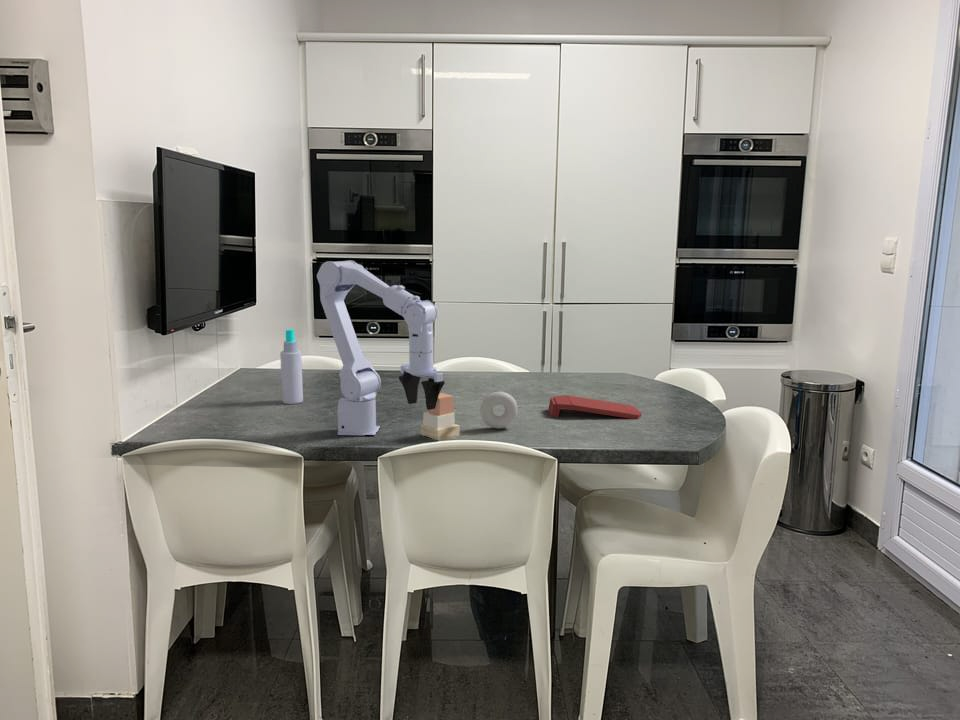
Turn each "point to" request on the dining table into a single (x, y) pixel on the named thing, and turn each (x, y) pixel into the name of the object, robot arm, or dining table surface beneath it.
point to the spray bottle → (291, 371)
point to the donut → (489, 404)
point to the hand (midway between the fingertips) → (421, 406)
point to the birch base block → (440, 432)
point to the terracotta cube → (443, 405)
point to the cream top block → (438, 420)
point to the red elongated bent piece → (592, 407)
